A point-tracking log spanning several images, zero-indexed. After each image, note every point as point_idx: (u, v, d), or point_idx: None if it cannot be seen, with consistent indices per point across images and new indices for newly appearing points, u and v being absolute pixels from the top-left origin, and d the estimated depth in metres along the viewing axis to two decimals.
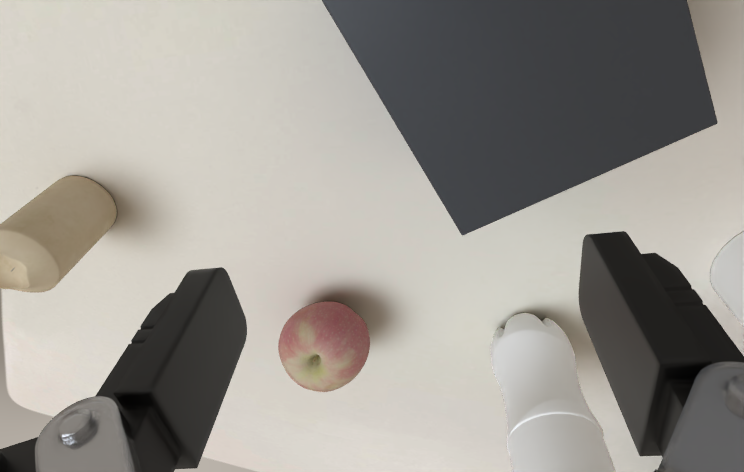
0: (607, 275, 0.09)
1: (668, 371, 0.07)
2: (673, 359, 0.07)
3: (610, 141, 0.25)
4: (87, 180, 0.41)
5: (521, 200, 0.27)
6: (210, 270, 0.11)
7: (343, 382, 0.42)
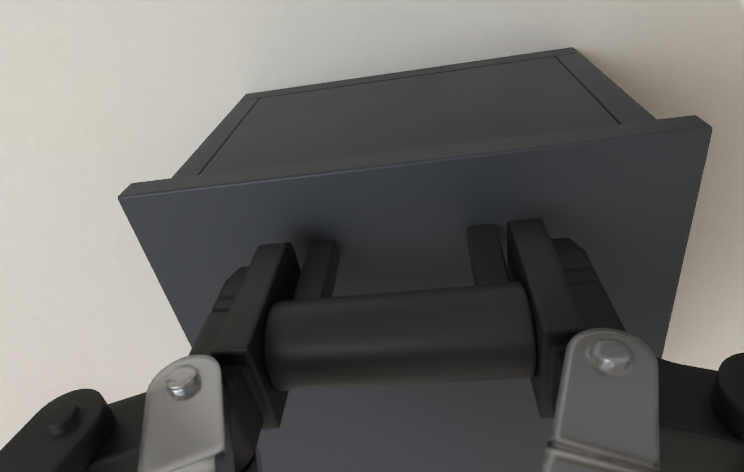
0: (518, 256, 0.10)
1: (551, 337, 0.08)
2: (556, 327, 0.08)
3: None
4: None
5: None
6: (280, 244, 0.11)
7: None
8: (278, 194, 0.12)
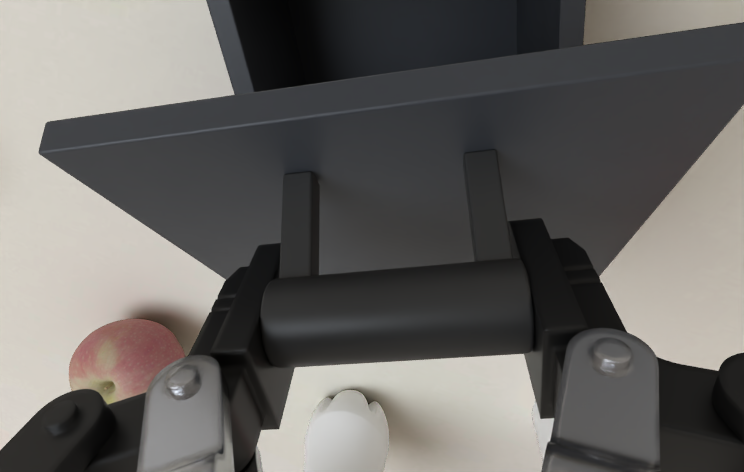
0: (518, 256, 0.10)
1: (552, 338, 0.08)
2: (557, 327, 0.08)
3: None
4: None
5: None
6: (280, 244, 0.11)
7: None
8: (237, 140, 0.10)
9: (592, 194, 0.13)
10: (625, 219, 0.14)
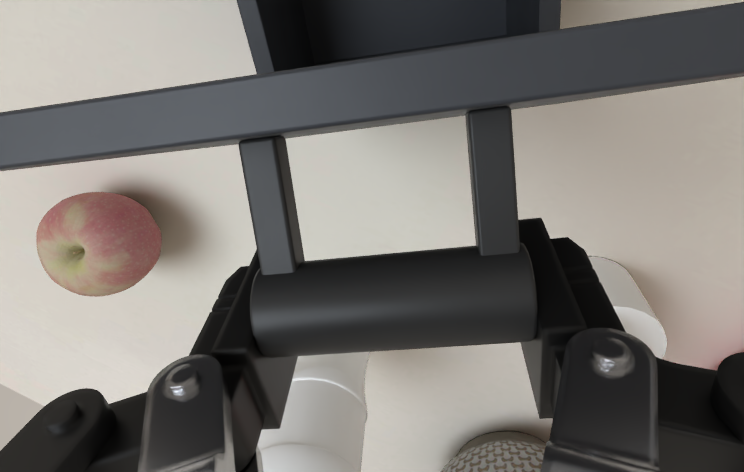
0: None
1: (551, 337, 0.08)
2: (556, 327, 0.08)
3: None
4: None
5: None
6: None
7: (105, 289, 0.35)
8: (172, 148, 0.07)
9: (615, 93, 0.10)
10: None
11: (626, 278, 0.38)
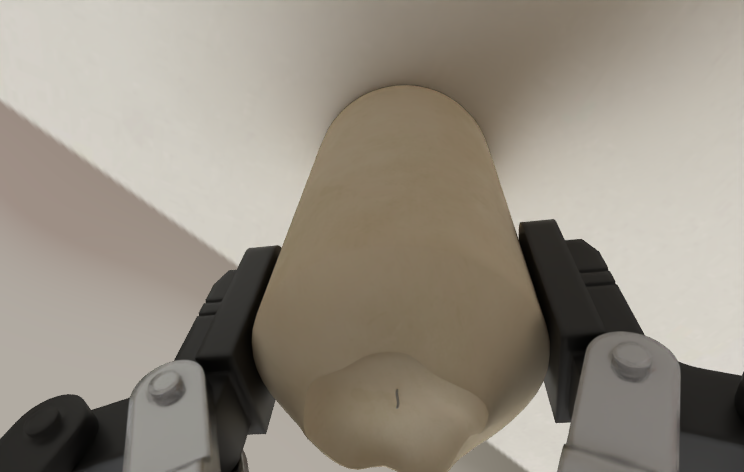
0: (532, 258, 0.10)
1: (569, 341, 0.08)
2: (574, 330, 0.08)
3: None
4: (345, 108, 0.15)
5: None
6: (269, 247, 0.11)
7: None
8: None
9: None
10: None
11: None
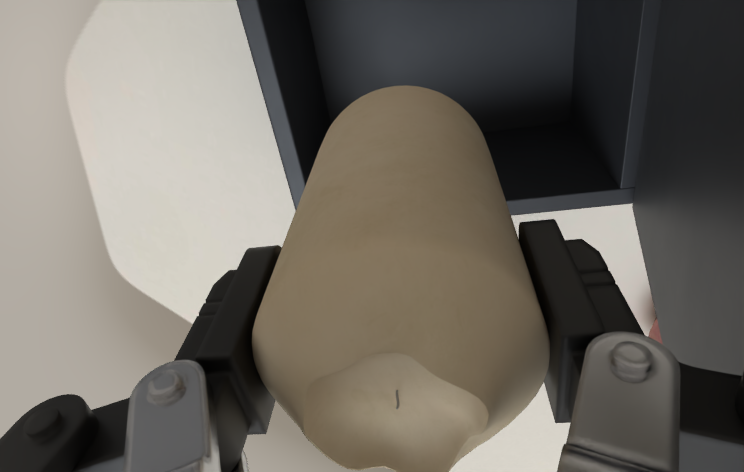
0: (532, 258, 0.10)
1: (569, 341, 0.08)
2: (574, 330, 0.08)
3: None
4: (345, 108, 0.15)
5: None
6: (269, 247, 0.11)
7: None
8: None
9: None
10: None
11: None
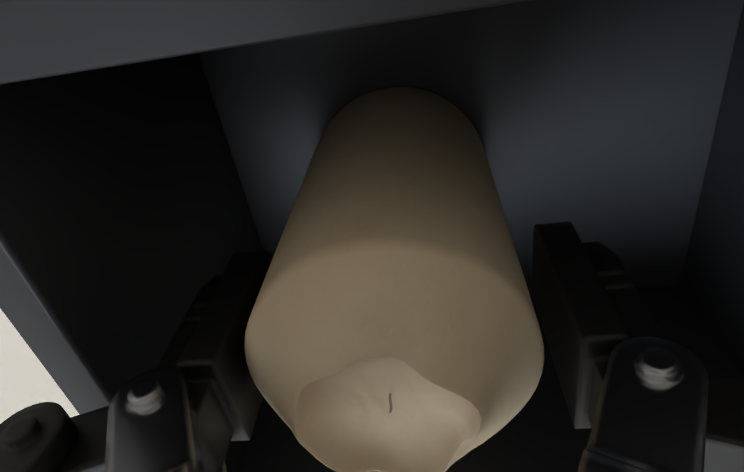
0: (549, 261, 0.10)
1: (591, 346, 0.08)
2: (596, 335, 0.08)
3: None
4: None
5: None
6: (255, 252, 0.11)
7: None
8: None
9: None
10: None
11: None
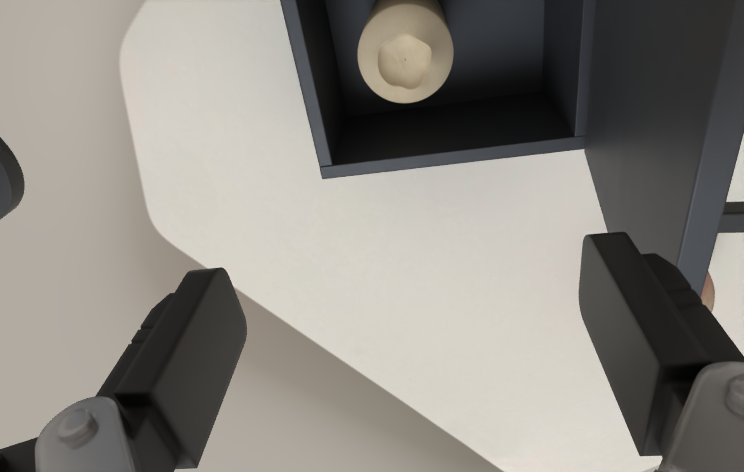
0: (607, 275, 0.09)
1: (668, 371, 0.07)
2: (673, 359, 0.07)
3: None
4: None
5: None
6: (210, 270, 0.11)
7: (705, 303, 0.39)
8: None
9: None
10: None
11: None
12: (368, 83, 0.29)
